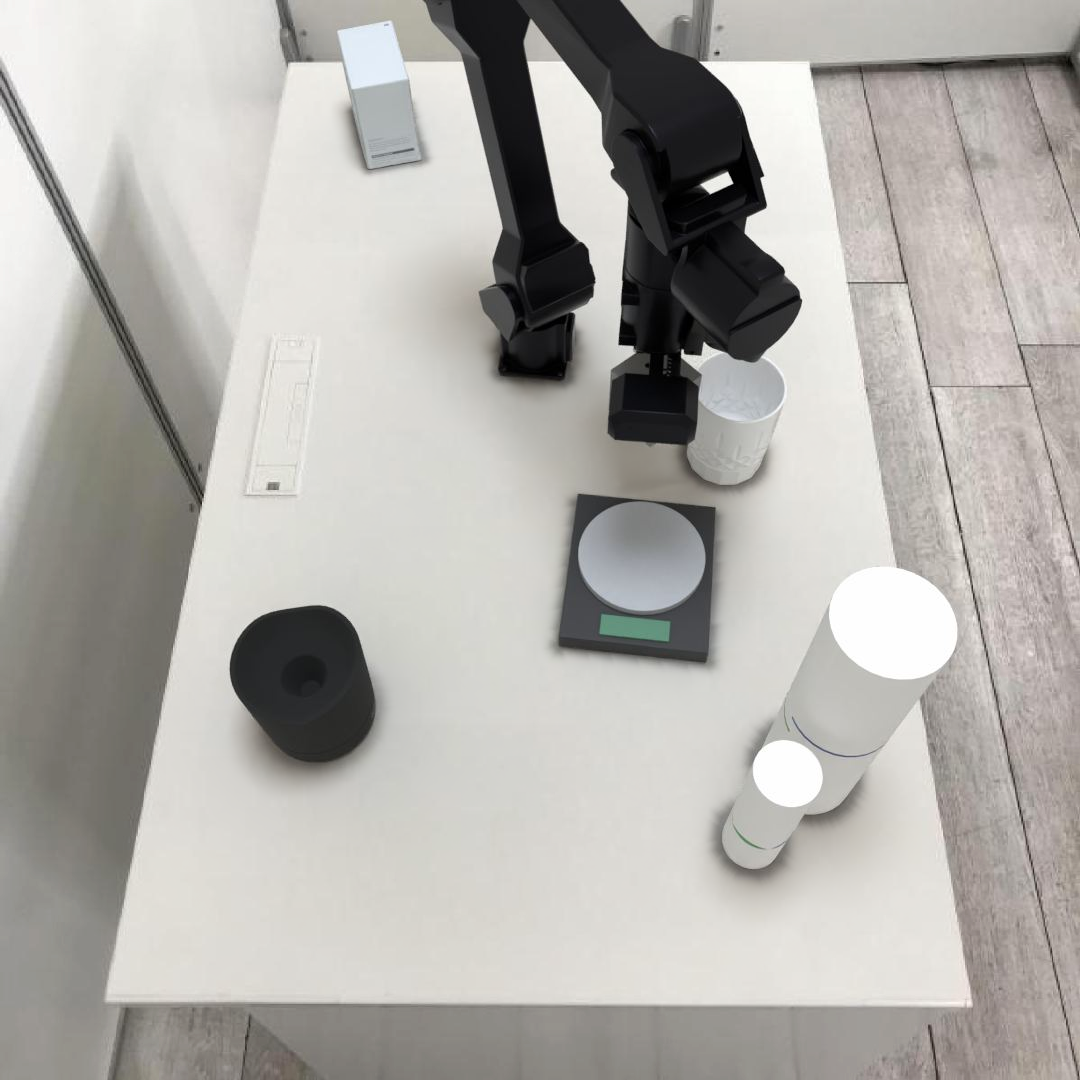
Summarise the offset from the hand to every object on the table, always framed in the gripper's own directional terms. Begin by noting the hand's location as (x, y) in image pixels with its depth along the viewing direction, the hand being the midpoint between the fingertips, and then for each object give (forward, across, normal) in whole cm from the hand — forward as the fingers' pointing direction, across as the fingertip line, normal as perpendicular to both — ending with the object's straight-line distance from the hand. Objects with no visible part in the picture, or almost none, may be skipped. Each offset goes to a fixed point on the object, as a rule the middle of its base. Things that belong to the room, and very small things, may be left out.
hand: (650, 405), depth 86 cm
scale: (+11, -10, 0) cm, 15 cm away
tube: (+12, -31, -10) cm, 35 cm away
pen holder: (+11, -24, +24) cm, 36 cm away
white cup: (+11, +4, -7) cm, 14 cm away
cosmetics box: (+11, +45, +32) cm, 56 cm away
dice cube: (+1, 0, 0) cm, 1 cm away
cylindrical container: (+12, -25, -14) cm, 31 cm away
